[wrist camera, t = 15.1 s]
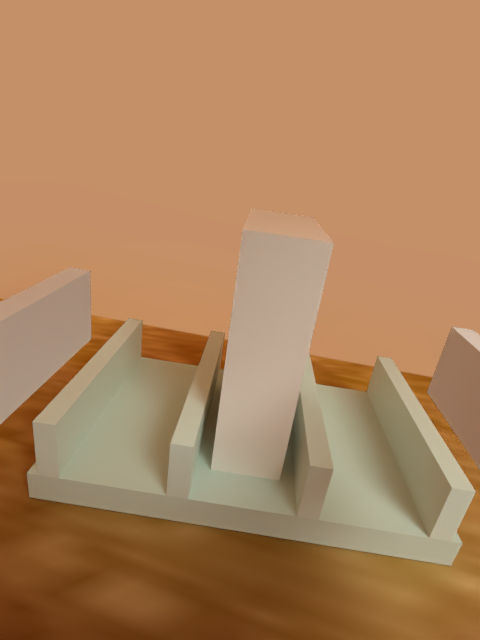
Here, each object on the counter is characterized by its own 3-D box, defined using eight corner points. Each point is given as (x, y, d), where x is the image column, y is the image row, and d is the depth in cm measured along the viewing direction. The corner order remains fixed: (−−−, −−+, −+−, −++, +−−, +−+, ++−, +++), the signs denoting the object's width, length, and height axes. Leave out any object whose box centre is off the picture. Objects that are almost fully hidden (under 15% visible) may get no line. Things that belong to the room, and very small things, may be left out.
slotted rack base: (381, 411, 29) (398, 359, 27) (450, 565, 18) (487, 493, 16) (121, 371, 29) (122, 317, 27) (29, 497, 18) (20, 419, 16)
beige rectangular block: (277, 392, 26) (312, 217, 22) (279, 480, 19) (333, 242, 14) (227, 385, 27) (252, 208, 22) (210, 469, 19) (242, 229, 15)
